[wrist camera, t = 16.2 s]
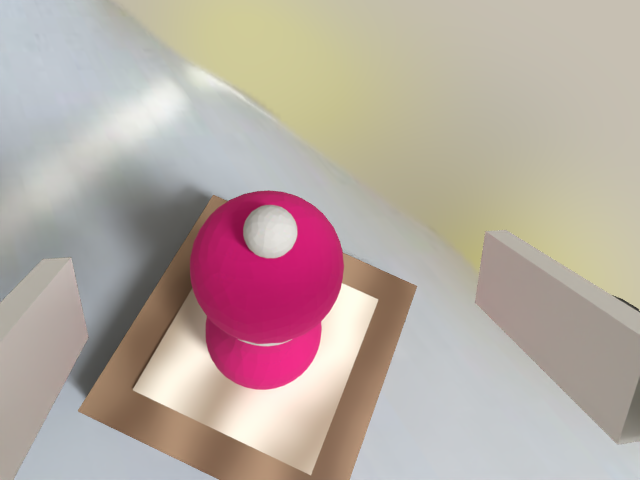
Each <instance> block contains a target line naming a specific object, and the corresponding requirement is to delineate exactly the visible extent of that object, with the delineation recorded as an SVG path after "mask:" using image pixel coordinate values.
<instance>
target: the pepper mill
mask: <svg viewBox="0 0 640 480" xmlns="http://www.w3.org/2000/svg"><path fill="white" fill-rule="evenodd" d="M343 272H344V261H343V252H342V248H341V244H340V241H339V239H338V236H337V234H336V232H335V229H334V228H333V226H332V225H331V223H330V222H329V221H328V220H327V218H326V217H325V216H324V214H323V213H322V212H320V211H319V210H318V209H317V208H316V207H315V206H313V205H312V204H310V203H309V202H307V201H305V200H303V199H302V198H300V197H298V196H295V195H291V194H288V193H284V192H278V191H257V192H252V193H247V194H243V195H241V196H238V197H236V198H234V199H231V200H229V201H228V202H226V203H225V204H223V205H221V206H220V207H218V208H217V209H216V210H215V211H214V212H213V213H212V214H211V215H210V216H209V217H208V219H207V220H206V221H205V223H204V224H203V226H202V227H201V228H200V230H199V232H198V234H197V236H196V238H195V240H194V243H193V248H192V252H191V256H190V278H191V284H192V288H193V292H194V294H195V297H196V299H197V302H198V304H199V305H200V307H201V308H202V310H203V311H204V313H205V314H206V316H207V319H206V344H207V348H208V352H209V354H210V357H211V359H212V361H213V362H214V364H215V365H216V367H217V369H218V370H219V371H220V372H221V373H222V374H223V375H224V376H225V377H226V378H228V379H230V380H231V381H233V382H234V383H236V384H238V385H241V386H243V387H246V388H250V389H255V390H268V389H275V388H278V387H281V386H284V385H286V384H288V383H290V382H292V381H294V380H295V379H297V378H298V377H299V376H301V375H302V374H303V373H304V372H305V371H306V370H307V369H308V367H309V366H310V364H311V363H312V362H313V360H314V358H315V356H316V354H317V351H318V348H319V345H320V340H321V333H322V325H321V321H322V320H323V319H324V318H325V317H326V315H327V314H328V313H329V312H330V310H331V309H332V307H333V305H334V304H335V302H336V300H337V298H338V295H339V292H340V290H341V285H342V280H343Z"/></svg>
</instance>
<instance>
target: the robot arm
mask: <svg viewBox="0 0 640 480" xmlns="http://www.w3.org/2000/svg"><path fill="white" fill-rule="evenodd" d="M475 303H476V304H477V305H478V306H479V307H480V308H481V309H482V310H483V311H484V312H485V313H486V314H487V315H488V316H489V317H490V318H491V319H492V320H493V321H494V322H495V323H496V324H497V325H498V326H499V327H500V328H501V329H502V330H503V331H504V332H505V333H506V334H507V335H508V336H509V337H510V338H511V339H512V340H513V341H514V342H515V343H516V344H517V345H518V346H519V347H520V348H521V349H522V350H523V351H524V352H525V353H526V354H527V355H528V356H529V357H530V358H531V359H532V360H533V361H534V362H535V363H536V364H537V365H538V366H539V367H540V368H541V369H542V370H543V371H544V372H545V373H546V374H547V375H548V376H549V377H550V378H551V379H552V380H553V381H554V382H555V383H556V384H557V385H558V386H559V387H560V388H561V389H562V390H563V391H564V392H565V393H566V394H567V395H568V396H569V397H570V398H571V399H572V400H573V401H574V402H575V403H576V404H577V405H578V406H579V407H580V408H581V409H582V410H583V411H584V412H585V413H586V414H587V415H588V416H589V417H590V418H591V419H592V420H593V421H594V422H595V423H596V424H597V425H598V426H599V427H600V428H601V429H602V430H603V431H604V432H605V433H606V434H607V435H608V436H609V437H610V438H611V439H612V440H613V441H614V442H615V443H616V444H617V445H619V444H625V443H632V442H638V441H640V311H639V309H638V308H636V307H634V306H633V305H631V304H629V303H628V302H626V301H625V300H623V299H621V298H618V297H616V296H613V295H610V294H609V293H607V292H605V291H604V290H603V289H601V288H599V287H598V286H596V285H594V284H593V283H591V282H590V281H588V280H586V279H584V278H583V277H581V276H580V275H578V274H577V273H575V272H573V271H572V270H570V269H568V268H567V267H565V266H563V265H562V264H560V263H559V262H557V261H555V260H554V259H552V258H551V257H549V256H547V255H546V254H544V253H542V252H541V251H539V250H538V249H536V248H534V247H533V246H531V245H530V244H528V243H526V242H525V241H523V240H521V239H520V238H518V237H517V236H515V235H513V234H512V233H510V232H508V231H506V230H499V231H486V232H485V238H484V246H483V252H482V259H481V265H480V272H479V279H478V285H477V292H476V299H475ZM88 338H89V337H88V332H87V328H86V323H85V319H84V314H83V309H82V305H81V300H80V296H79V291H78V286H77V282H76V277H75V273H74V268H73V263H72V259H71V257H68V258H52V259H42V260H41V261H40V262H39V263H38V264H37V265H36V267H35V268H34V269H33V270H32V271H31V272H30V273H29V274H28V275H27V276H26V277H25V278H24V279H23V280H22V281H21V282H20V283H19V284H18V285H17V286H16V287H15V288H14V289H13V290H12V291H11V292H10V293H9V294H8V295H7V296H6V297H5V298H4V299H3V301H2V302H1V303H0V480H14V478H15V476H16V474H17V472H18V470H19V468H20V466H21V464H22V463H23V461H24V459H25V457H26V455H27V453H28V451H29V449H30V447H31V445H32V444H33V442H34V440H35V438H36V436H37V434H38V432H39V430H40V428H41V427H42V425H43V423H44V421H45V419H46V417H47V415H48V413H49V411H50V410H51V408H52V406H53V404H54V402H55V400H56V398H57V396H58V394H59V392H60V391H61V389H62V387H63V385H64V383H65V381H66V379H67V377H68V375H69V374H70V372H71V370H72V368H73V366H74V364H75V362H76V360H77V358H78V356H79V355H80V353H81V351H82V349H83V347H84V345H85V343H86V341H87V339H88Z"/></svg>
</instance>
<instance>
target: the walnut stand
mask: <svg viewBox="0 0 640 480" xmlns="http://www.w3.org/2000/svg"><path fill="white" fill-rule="evenodd" d="M226 202H228V201H226V200H224V199H221V198H219V197H217V196H215V195H213V196H212V198H211V199H210V201H209V203H208V204H207V206H206V207H205V209H204V211H203V212H202V214H201V215H200V217H199V218H198V220H197V222H196V223H195V225H194V226H193V228H192V230H191V231H190V233H189V234H188V236H187V238H186V239H185V241H184V242H183V244H182V246H181V247H180V249H179V250H178V252H177V254H176V255H175V257H174V258H173V260H172V262H171V263H170V265H169V266H168V268H167V270H166V271H165V273H164V274H163V276H162V277H161V279H160V281H159V282H158V284H157V285H156V287H155V289H154V290H153V292H152V293H151V295H150V297H149V298H148V300H147V301H146V303H145V305H144V306H143V308H142V309H141V311H140V313H139V314H138V316H137V317H136V319H135V321H134V322H133V324H132V325H131V327H130V329H129V330H128V332H127V333H126V335H125V336H124V338H123V340H122V341H121V343H120V344H119V346H118V348H117V349H116V351H115V352H114V354H113V356H112V357H111V359H110V360H109V362H108V364H107V365H106V367H105V368H104V370H103V372H102V373H101V375H100V376H99V378H98V380H97V381H96V383H95V384H94V386H93V388H92V389H91V391H90V392H89V394H88V395H87V397H86V399H85V400H84V402H83V403H82V405H81V407H80V408H79V410H78V412H81V413H83V414H85V415H87V416H89V417H91V418H93V419H95V420H97V421H99V422H101V423H103V424H105V425H107V426H109V427H111V428H114V429H116V430H118V431H120V432H122V433H124V434H126V435H128V436H130V437H132V438H134V439H136V440H138V441H140V442H142V443H145V444H147V445H149V446H151V447H153V448H155V449H157V450H159V451H161V452H163V453H165V454H167V455H169V456H171V457H173V458H176V459H178V460H180V461H182V462H184V463H186V464H188V465H190V466H192V467H194V468H196V469H198V470H200V471H202V472H204V473H206V474H209V475H211V476H213V477H215V478H217V479H219V480H350V477H351V474H352V471H353V468H354V465H355V462H356V460H357V457H358V454H359V451H360V448H361V445H362V442H363V440H364V437H365V434H366V431H367V428H368V425H369V422H370V420H371V417H372V414H373V411H374V408H375V405H376V402H377V400H378V397H379V394H380V391H381V388H382V385H383V382H384V380H385V377H386V374H387V371H388V368H389V365H390V362H391V360H392V357H393V354H394V351H395V348H396V345H397V342H398V340H399V337H400V334H401V331H402V328H403V325H404V322H405V319H406V317H407V314H408V311H409V308H410V305H411V302H412V299H413V297H414V294H415V291H416V288H417V286H416V285H414V284H411V283H409V282H407V281H405V280H402V279H400V278H398V277H396V276H393V275H391V274H389V273H387V272H385V271H382V270H380V269H378V268H376V267H373V266H371V265H369V264H367V263H364V262H362V261H360V260H358V259H355V258H353V257H351V256H349V255H347V254H344V253H343V261H344V272H343V280H342V285H341V290H340V292H339V295H338V298H337V300H336V302H335V304H334V305H333V307H332V309H331V310H330V312H329V313H328V314H327V315H326V317H325V318H324V319H323V320H322V321H321V325H322V333H321V340H320V345H319V348H318V351H317V354H316V356H315V358H314V360H313V362H312V363H311V364H310V366H309V367H308V369H307V370H306V371H305V372H304V373H303V374H302V375H301V376H299V377H298V378H297V379H295V380H294V381H292V382H290V383H288V384H286V385H284V386H281V387H278V388H275V389H268V390H255V389H250V388H246V387H243V386H241V385H238V384H236V383H234V382H233V381H231V380H230V379H228V378H226V377H225V376H224V375H223V374H222V373H221V372H220V371H219V370H218V369H217V367H216V365H215V364H214V362H213V361H212V359H211V357H210V354H209V352H208V348H207V344H206V319H207V316H206V314H205V313H204V311H203V310H202V308H201V307H200V305H199V304H198V302H197V299H196V297H195V294H194V292H193V288H192V284H191V278H190V256H191V252H192V248H193V243H194V240H195V238H196V236H197V234H198V232H199V230H200V228H201V227H202V226H203V224H204V223H205V221H206V220H207V219H208V217H209V216H210V215H211V214H212V213H213V212H214V211H215V210H216V209H217V208H218V207H220V206H221V205H223V204H225V203H226Z"/></svg>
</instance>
